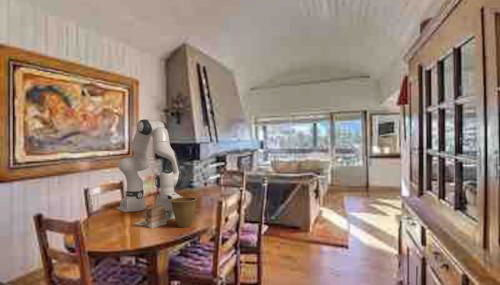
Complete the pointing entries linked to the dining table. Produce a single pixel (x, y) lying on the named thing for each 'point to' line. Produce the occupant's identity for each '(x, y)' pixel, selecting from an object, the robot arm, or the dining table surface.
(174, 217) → the brick sage
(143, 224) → the page
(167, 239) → the dining table surface
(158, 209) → the brick walnut
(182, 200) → the plant pot
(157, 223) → the base brick
